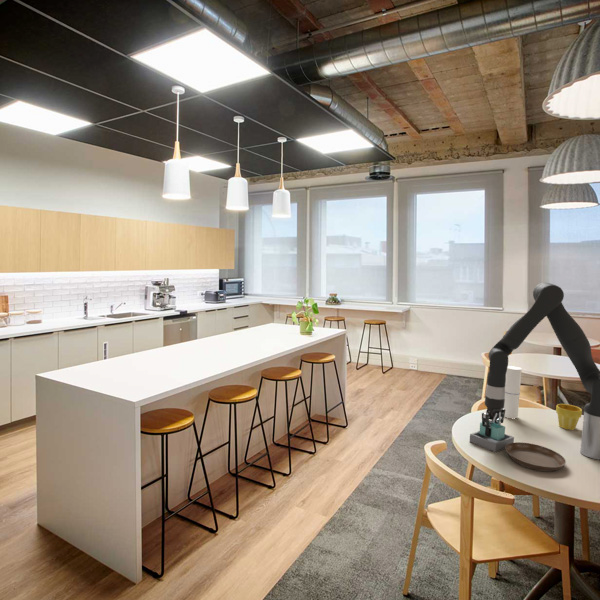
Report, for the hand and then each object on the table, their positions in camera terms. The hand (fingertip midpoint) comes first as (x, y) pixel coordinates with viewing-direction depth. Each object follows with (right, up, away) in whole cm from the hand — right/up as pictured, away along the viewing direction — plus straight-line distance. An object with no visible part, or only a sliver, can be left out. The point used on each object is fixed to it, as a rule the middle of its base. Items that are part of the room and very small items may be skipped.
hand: (491, 434), depth 181 cm
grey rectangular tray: (0, -4, 0) cm, 4 cm away
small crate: (0, -1, 0) cm, 1 cm away
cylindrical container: (+24, -2, +34) cm, 42 cm away
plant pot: (+46, -4, +22) cm, 51 cm away
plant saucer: (+10, -6, -14) cm, 19 cm away
